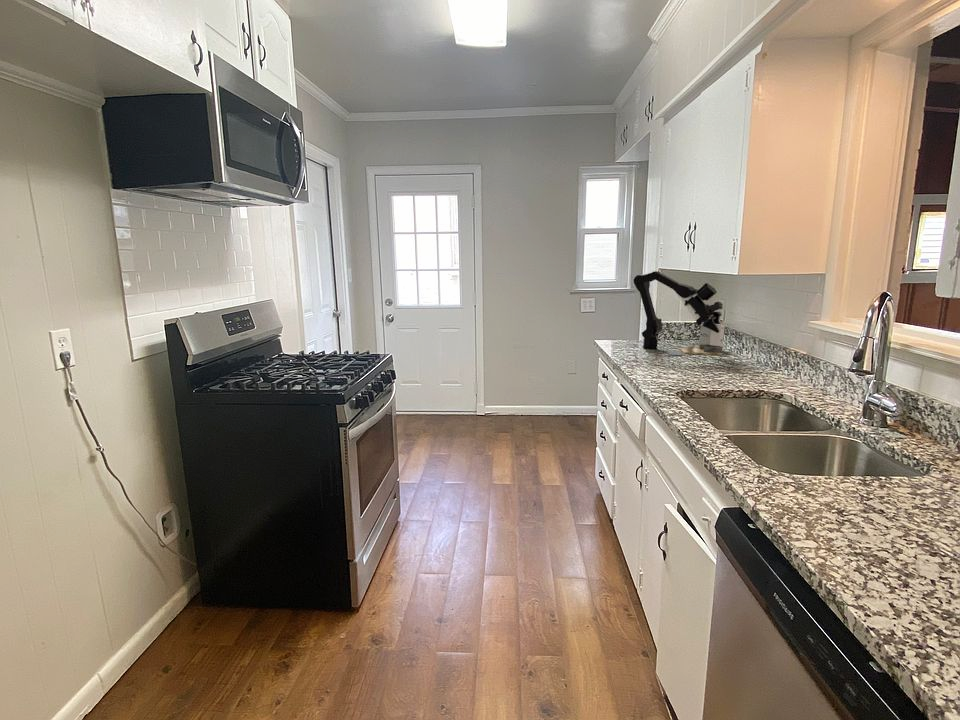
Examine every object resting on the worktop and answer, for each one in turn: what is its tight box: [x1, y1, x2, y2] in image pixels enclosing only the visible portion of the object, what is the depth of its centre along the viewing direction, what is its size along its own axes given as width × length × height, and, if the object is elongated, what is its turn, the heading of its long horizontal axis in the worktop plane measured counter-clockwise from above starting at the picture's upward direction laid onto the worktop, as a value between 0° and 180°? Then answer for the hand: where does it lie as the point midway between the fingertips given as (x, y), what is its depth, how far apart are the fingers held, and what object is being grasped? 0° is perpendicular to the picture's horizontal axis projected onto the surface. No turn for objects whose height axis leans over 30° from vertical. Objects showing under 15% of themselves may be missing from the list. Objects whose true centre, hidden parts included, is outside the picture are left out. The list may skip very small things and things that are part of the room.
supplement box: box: [698, 323, 711, 348], centre depth 276 cm, size 7×7×13 cm
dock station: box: [679, 343, 723, 356], centre depth 266 cm, size 19×13×4 cm
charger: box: [710, 323, 726, 347], centre depth 252 cm, size 5×4×10 cm
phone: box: [665, 349, 683, 357], centre depth 262 cm, size 6×12×1 cm, turn 167°
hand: (720, 331), depth 251 cm, fingers closed on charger, 4 cm apart
